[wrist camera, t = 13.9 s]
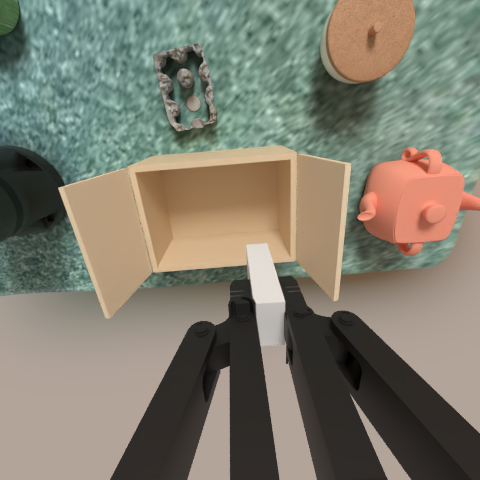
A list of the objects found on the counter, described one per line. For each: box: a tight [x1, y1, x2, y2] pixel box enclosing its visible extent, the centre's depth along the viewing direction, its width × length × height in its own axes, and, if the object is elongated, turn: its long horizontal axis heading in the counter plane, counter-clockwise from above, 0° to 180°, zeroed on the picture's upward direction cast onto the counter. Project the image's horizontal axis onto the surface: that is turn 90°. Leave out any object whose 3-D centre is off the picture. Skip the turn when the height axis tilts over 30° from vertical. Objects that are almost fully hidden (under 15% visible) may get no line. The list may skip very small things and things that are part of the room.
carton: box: [128, 145, 297, 273], centre depth 42 cm, size 22×16×12 cm
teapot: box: [357, 147, 480, 256], centre depth 43 cm, size 15×17×13 cm
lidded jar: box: [320, 0, 415, 84], centre depth 35 cm, size 11×11×9 cm
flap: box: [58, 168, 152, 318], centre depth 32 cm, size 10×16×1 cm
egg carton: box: [153, 44, 217, 131], centre depth 39 cm, size 11×8×4 cm
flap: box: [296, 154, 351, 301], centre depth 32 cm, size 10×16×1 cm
